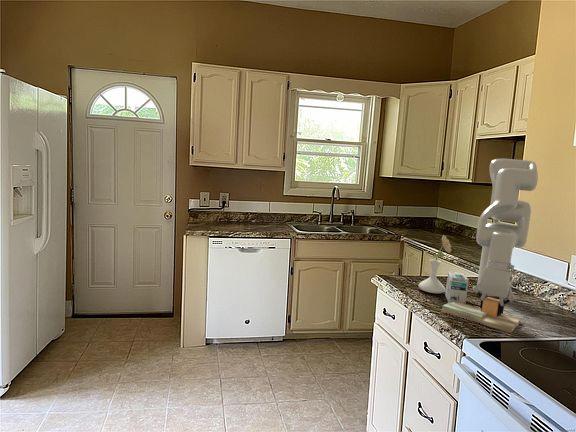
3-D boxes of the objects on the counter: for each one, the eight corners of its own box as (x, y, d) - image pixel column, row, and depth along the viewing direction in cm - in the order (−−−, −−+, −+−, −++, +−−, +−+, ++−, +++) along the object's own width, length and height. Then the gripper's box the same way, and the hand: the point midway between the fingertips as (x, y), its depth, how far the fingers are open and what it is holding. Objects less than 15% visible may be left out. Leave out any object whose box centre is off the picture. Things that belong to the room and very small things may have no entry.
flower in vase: (432, 296, 183) (440, 238, 179) (412, 288, 192) (419, 232, 189) (453, 294, 189) (461, 237, 186) (432, 286, 199) (440, 232, 196)
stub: (486, 309, 167) (488, 296, 166) (500, 313, 164) (502, 300, 163) (481, 312, 162) (483, 299, 162) (495, 316, 159) (497, 303, 158)
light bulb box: (465, 305, 175) (469, 279, 174) (448, 303, 176) (451, 277, 175) (460, 297, 185) (464, 272, 184) (444, 295, 187) (447, 270, 185)
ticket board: (454, 304, 175) (455, 298, 175) (520, 322, 160) (521, 316, 160) (441, 312, 164) (442, 305, 164) (510, 332, 149) (511, 325, 149)
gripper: (526, 269, 158) (518, 317, 160) (477, 259, 169) (470, 304, 171) (521, 272, 152) (513, 322, 155) (471, 261, 163) (464, 308, 166)
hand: (491, 312), depth 163 cm, fingers closed on stub, 5 cm apart
